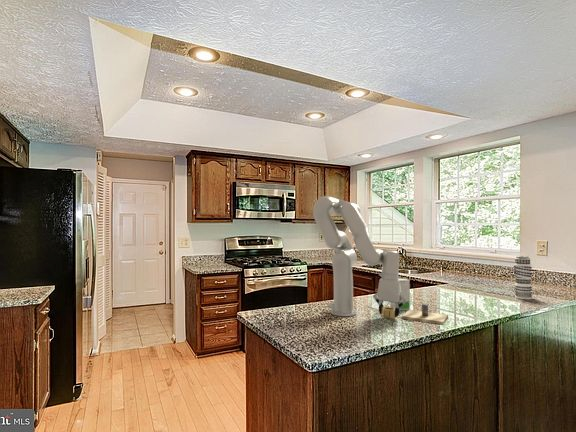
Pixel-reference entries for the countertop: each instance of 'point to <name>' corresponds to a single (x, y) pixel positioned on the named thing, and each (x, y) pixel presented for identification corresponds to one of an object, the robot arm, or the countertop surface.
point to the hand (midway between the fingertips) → (388, 314)
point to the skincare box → (404, 294)
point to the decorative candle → (523, 277)
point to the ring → (388, 312)
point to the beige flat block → (425, 316)
